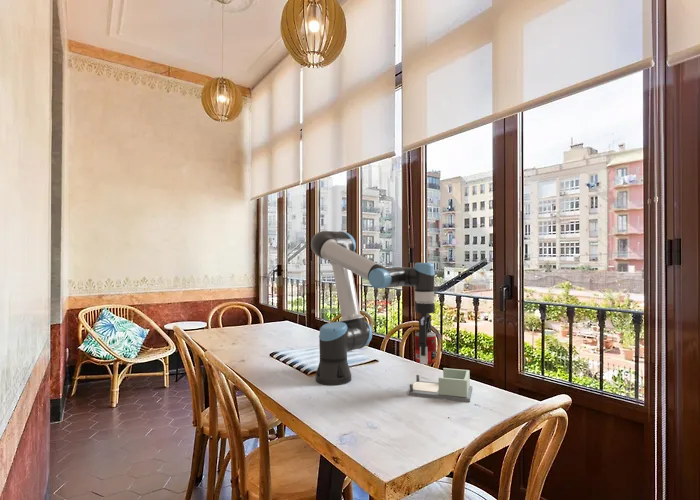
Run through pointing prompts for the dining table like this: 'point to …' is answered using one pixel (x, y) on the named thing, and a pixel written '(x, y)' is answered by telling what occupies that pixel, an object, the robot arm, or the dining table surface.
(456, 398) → the base
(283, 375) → the dining table surface
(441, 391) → the housing
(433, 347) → the canned food
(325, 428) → the dining table surface
